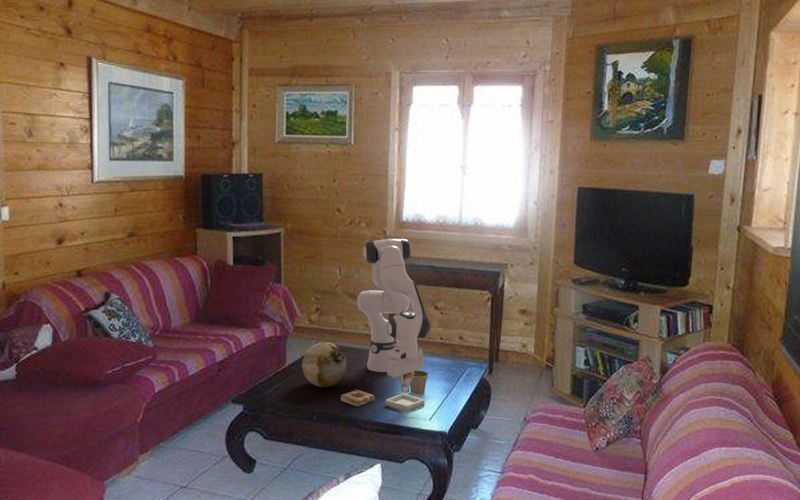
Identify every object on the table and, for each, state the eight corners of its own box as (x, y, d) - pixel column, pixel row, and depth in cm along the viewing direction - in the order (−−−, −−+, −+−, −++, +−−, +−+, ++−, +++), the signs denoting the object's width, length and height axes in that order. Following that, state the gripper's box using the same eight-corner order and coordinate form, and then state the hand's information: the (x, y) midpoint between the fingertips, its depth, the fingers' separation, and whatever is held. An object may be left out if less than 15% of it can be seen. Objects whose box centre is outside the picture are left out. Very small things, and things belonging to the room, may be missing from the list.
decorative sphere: (338, 395, 295) (339, 350, 292) (295, 390, 299) (296, 346, 296) (350, 381, 314) (351, 339, 312) (310, 377, 318) (310, 335, 315)
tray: (403, 398, 293) (403, 393, 293) (424, 405, 285) (424, 399, 285) (385, 405, 284) (385, 399, 284) (406, 412, 277) (406, 406, 276)
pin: (404, 389, 287) (405, 371, 286) (412, 391, 284) (412, 374, 283) (398, 391, 284) (398, 374, 283) (405, 393, 281) (406, 376, 280)
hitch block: (357, 395, 296) (357, 389, 295) (374, 400, 289) (374, 395, 289) (340, 400, 288) (340, 395, 288) (357, 406, 282) (357, 401, 281)
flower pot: (413, 396, 296) (413, 377, 295) (403, 390, 304) (403, 371, 303) (431, 394, 300) (432, 375, 299) (421, 387, 308) (422, 369, 307)
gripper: (416, 345, 292) (415, 376, 293) (384, 353, 276) (383, 386, 278) (427, 347, 288) (426, 379, 289) (396, 357, 272) (395, 390, 274)
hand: (405, 383), depth 283 cm, fingers closed on pin, 3 cm apart
